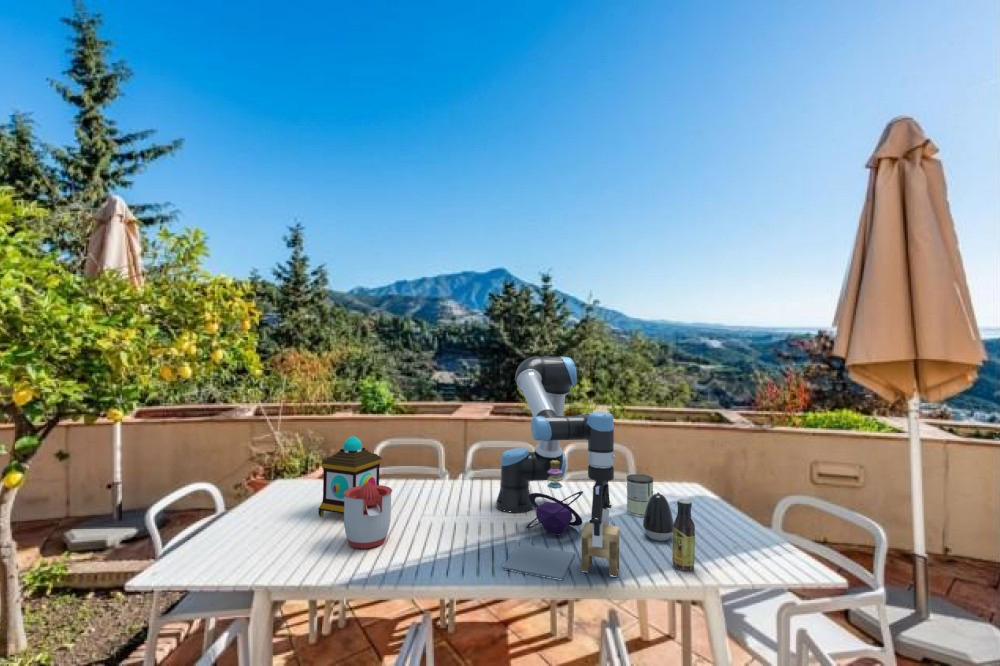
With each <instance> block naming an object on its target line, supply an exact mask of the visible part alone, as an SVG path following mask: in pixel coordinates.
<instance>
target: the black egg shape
mask: <svg viewBox="0 0 1000 666" xmlns="http://www.w3.org/2000/svg"><path fill="white" fill-rule="evenodd" d="M642 522H643V523H642V526H643V529H644V532H645V534H646V535H647V536H648V537H649V538H650V539H651V540H654V541H656V540H657V542H664V541H668V540H669V539H671V538H672V537H673V525H674V518H673V514H672V510H671V507H670V504H669V502H668V500H667V498H666V497H665V495H663V494H661V493H660V491H658V492H657V493H653V495H652V496H651V498H650V499H649V501H648V503H647V506H646V510H645V514H644V517H643V519H642Z"/></svg>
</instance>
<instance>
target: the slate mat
mask: <svg viewBox="0 0 1000 666" xmlns="http://www.w3.org/2000/svg"><path fill="white" fill-rule="evenodd" d="M575 557H576V552H572V551H567V550H560V549H554V548H549V547H548V548H547V547H540V546H536V545H530V544H523V543H520V544H519V546H518V547H517V548H516V549H515V551H514V552H513V553H512V554H511V556H510V557H509V558H508V559H507V560H506V562H505V563H504V564H503V565H502V566H501V569H502V568H503V569H507V570H513V571H516V572H515V573H517V572H521V573H520V574H522V573H527V574H526V575H528V574H532V575H531V576H533V575H539V576H545V577H551V578H558V579H563V580H564V578H565V576H566V574H567V572H568V570H569V569H568V568H570V567H571V565H572V562H573V560H575ZM570 564H571V565H570ZM569 566H570V567H569ZM566 571H567V572H566ZM565 573H566V574H565ZM564 575H565V576H564ZM539 576H538V577H539ZM563 577H564V578H563Z"/></svg>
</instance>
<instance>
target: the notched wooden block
mask: <svg viewBox="0 0 1000 666" xmlns="http://www.w3.org/2000/svg"><path fill="white" fill-rule="evenodd" d="M593 557H594V558H602V559H607V560H608V561H609V562H608V563H609V566H608V569H609V571H608V572H609V573H608V575H613V576H617V577H618V570H620V526H616V525H610V524H609V525H602V548H601V547H594V546H592V523H590V522H589V521H587V522H585V523H584V525H583V527H582V529H581V571H587V572H588V571H589V572H590V570H589V569H590V567H591V566H592V565H593ZM590 565H591V566H590ZM617 569H618V570H617Z"/></svg>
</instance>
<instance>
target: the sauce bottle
mask: <svg viewBox="0 0 1000 666" xmlns="http://www.w3.org/2000/svg"><path fill="white" fill-rule="evenodd" d="M692 503H693V502H692V501H691V500H689V499H687V498H686V499H685V498H679V499H677V504H676V505H677V514H676V517H675V520H674V521H673V523H674V525H673V533H672V555H671V557H672V565H673V566H675V567H674V568H676V569H678V570H680V569H681V570H680V571H685V570H689V571H693V570H694V568H695V557H696V556H695V555H696V554H695V553H696V551H695V550H696V549H695V548H696V547H695V545H696V544H695V543H696V533H695V532H696V529H695V528H696V525H695V522H694V521H693V519H692V507H693V504H692ZM692 569H693V570H692Z"/></svg>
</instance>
